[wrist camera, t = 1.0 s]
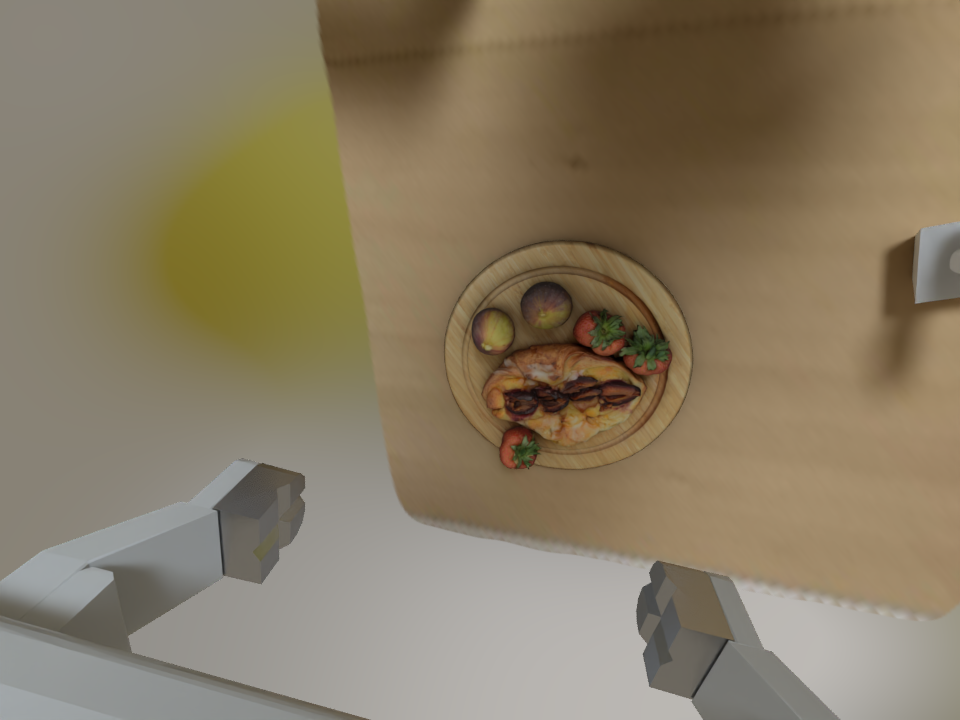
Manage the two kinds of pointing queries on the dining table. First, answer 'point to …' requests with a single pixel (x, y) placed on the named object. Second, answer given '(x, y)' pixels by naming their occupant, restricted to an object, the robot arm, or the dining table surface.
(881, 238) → the dining table surface
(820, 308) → the dining table surface
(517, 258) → the wooden plate with food
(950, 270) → the figurine
